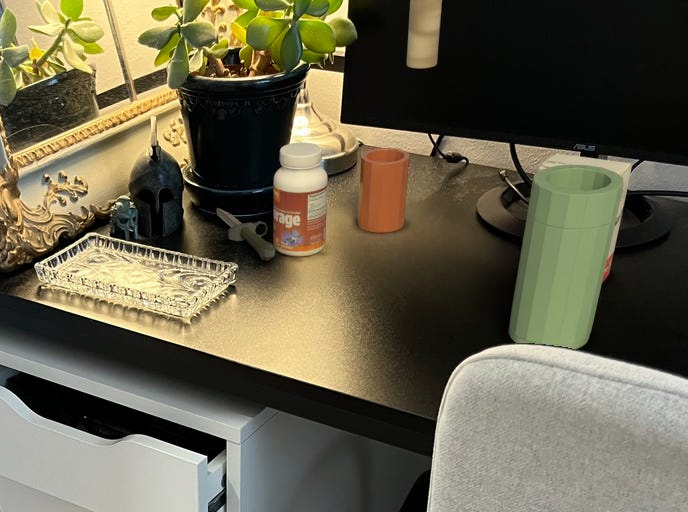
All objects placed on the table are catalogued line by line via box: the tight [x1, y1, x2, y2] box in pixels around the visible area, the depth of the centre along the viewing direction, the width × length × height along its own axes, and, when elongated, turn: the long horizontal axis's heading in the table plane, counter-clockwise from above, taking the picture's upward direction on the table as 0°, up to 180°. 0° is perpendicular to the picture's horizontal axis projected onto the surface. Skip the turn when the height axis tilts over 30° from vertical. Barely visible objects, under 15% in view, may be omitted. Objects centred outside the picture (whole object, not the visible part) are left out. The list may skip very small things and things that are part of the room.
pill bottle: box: [273, 141, 329, 257], centre depth 116 cm, size 6×6×11 cm
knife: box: [216, 207, 277, 262], centre depth 123 cm, size 19×2×5 cm
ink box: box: [536, 153, 633, 284], centre depth 107 cm, size 9×5×12 cm, turn 56°
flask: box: [508, 164, 624, 350], centre depth 96 cm, size 8×8×15 cm
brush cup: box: [357, 147, 411, 234], centre depth 121 cm, size 6×6×8 cm
